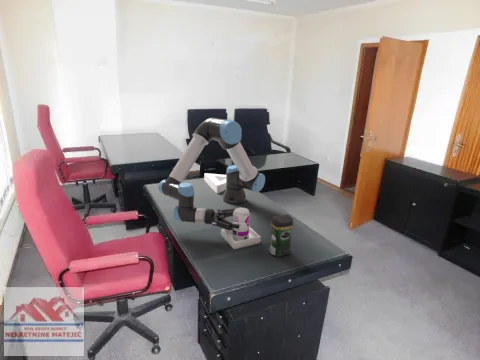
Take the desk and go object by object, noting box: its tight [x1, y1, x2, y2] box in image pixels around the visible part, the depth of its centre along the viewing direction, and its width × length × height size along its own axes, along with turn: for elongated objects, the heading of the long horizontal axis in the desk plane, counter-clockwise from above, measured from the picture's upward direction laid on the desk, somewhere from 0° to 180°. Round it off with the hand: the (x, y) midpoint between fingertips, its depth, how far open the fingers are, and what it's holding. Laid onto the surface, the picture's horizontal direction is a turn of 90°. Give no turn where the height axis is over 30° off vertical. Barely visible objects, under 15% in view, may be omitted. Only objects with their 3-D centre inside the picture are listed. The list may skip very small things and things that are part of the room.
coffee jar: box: [268, 213, 294, 257], centre depth 141 cm, size 10×8×19 cm
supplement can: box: [232, 207, 251, 241], centre depth 151 cm, size 8×8×15 cm
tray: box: [220, 226, 262, 250], centre depth 154 cm, size 15×15×4 cm
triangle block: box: [203, 172, 226, 194], centre depth 224 cm, size 30×26×6 cm
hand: (248, 220), depth 150 cm, fingers open, 13 cm apart
